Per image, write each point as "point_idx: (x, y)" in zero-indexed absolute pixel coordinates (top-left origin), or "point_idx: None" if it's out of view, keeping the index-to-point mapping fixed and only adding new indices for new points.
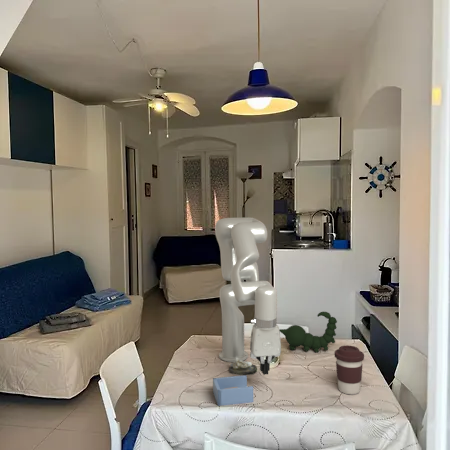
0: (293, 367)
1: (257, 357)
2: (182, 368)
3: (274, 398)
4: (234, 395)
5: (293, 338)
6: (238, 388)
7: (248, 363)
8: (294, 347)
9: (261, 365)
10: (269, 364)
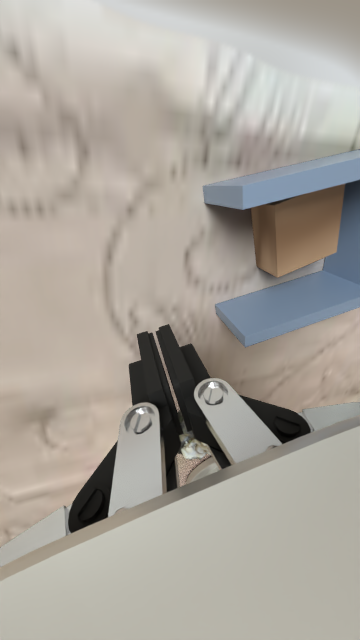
0: (38, 480)
1: (298, 427)
2: (345, 394)
3: (91, 230)
4: (325, 161)
5: None
6: (334, 169)
7: (193, 452)
8: None
9: (207, 372)
10: (133, 401)
